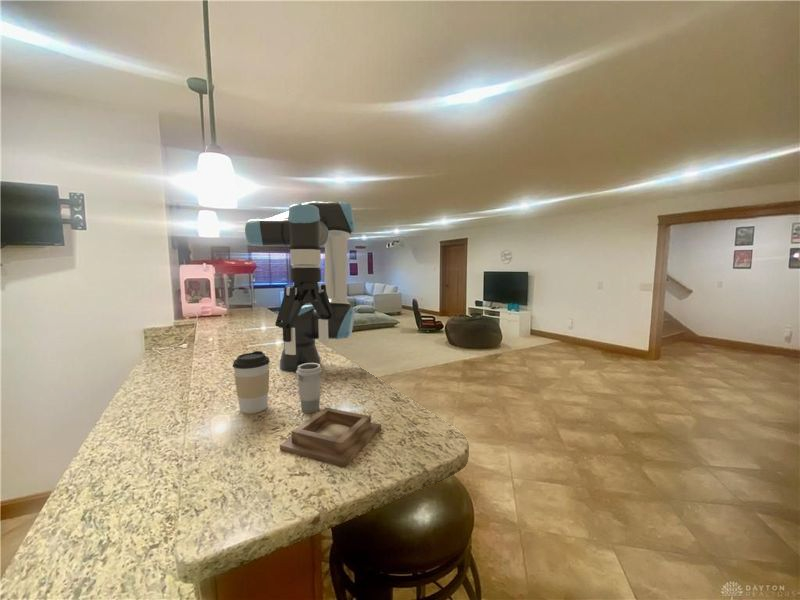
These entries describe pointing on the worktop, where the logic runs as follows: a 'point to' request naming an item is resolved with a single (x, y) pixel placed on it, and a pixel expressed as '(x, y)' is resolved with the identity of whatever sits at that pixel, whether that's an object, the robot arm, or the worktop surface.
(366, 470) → the worktop surface
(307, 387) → the cup
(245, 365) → the coffee cup
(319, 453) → the holder
